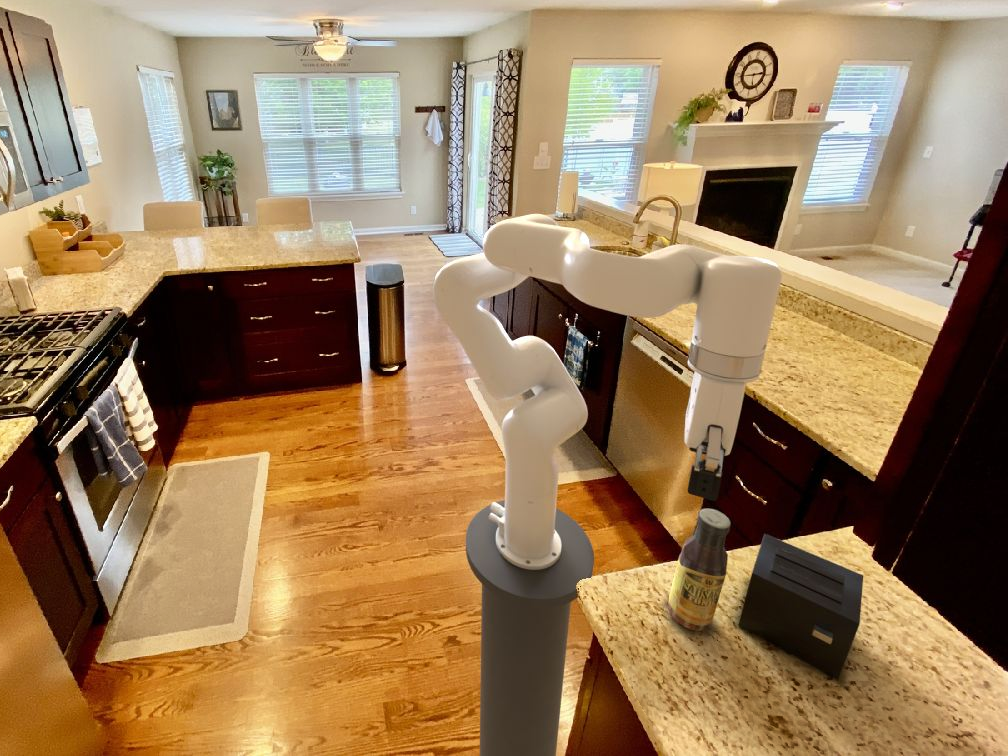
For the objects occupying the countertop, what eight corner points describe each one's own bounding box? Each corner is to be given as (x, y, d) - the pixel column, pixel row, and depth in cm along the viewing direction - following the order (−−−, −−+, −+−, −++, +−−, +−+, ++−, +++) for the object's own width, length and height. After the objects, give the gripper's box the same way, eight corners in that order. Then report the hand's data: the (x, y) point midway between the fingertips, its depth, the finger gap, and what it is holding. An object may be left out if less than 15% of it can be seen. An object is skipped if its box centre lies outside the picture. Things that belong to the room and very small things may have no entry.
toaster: (736, 631, 75) (750, 577, 71) (751, 583, 82) (764, 532, 79) (837, 687, 67) (859, 629, 63) (843, 628, 75) (863, 574, 71)
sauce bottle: (672, 629, 76) (692, 530, 69) (662, 594, 81) (680, 499, 75) (719, 638, 74) (744, 537, 67) (706, 601, 80) (728, 505, 73)
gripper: (690, 328, 68) (673, 432, 74) (687, 382, 54) (666, 505, 60) (755, 337, 64) (731, 445, 70) (770, 397, 50) (739, 526, 56)
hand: (701, 473), depth 65 cm, fingers open, 9 cm apart
